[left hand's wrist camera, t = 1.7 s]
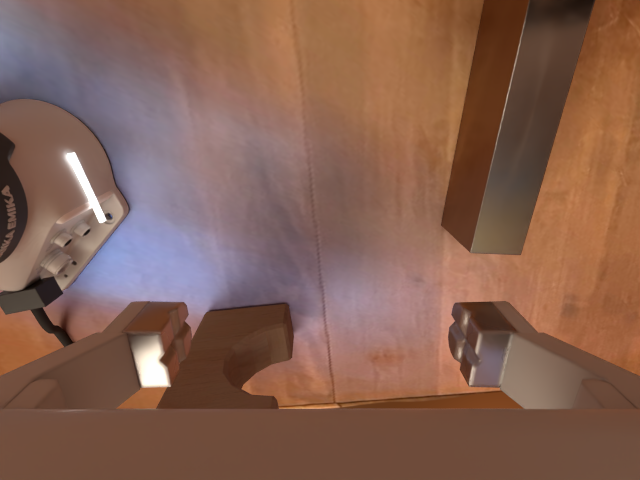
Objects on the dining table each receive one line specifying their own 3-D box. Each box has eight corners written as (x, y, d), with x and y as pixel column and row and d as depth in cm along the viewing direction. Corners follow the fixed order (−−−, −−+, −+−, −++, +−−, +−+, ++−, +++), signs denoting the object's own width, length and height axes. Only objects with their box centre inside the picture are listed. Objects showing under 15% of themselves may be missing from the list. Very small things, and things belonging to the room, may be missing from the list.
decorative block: (289, 302, 45) (271, 443, 26) (294, 338, 47) (281, 492, 28) (204, 309, 45) (127, 454, 26) (213, 344, 47) (147, 502, 28)
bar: (482, 227, 41) (521, 255, 34) (440, 225, 41) (470, 253, 33) (547, -46, 32) (623, -96, 24) (493, -50, 31) (552, -101, 24)
